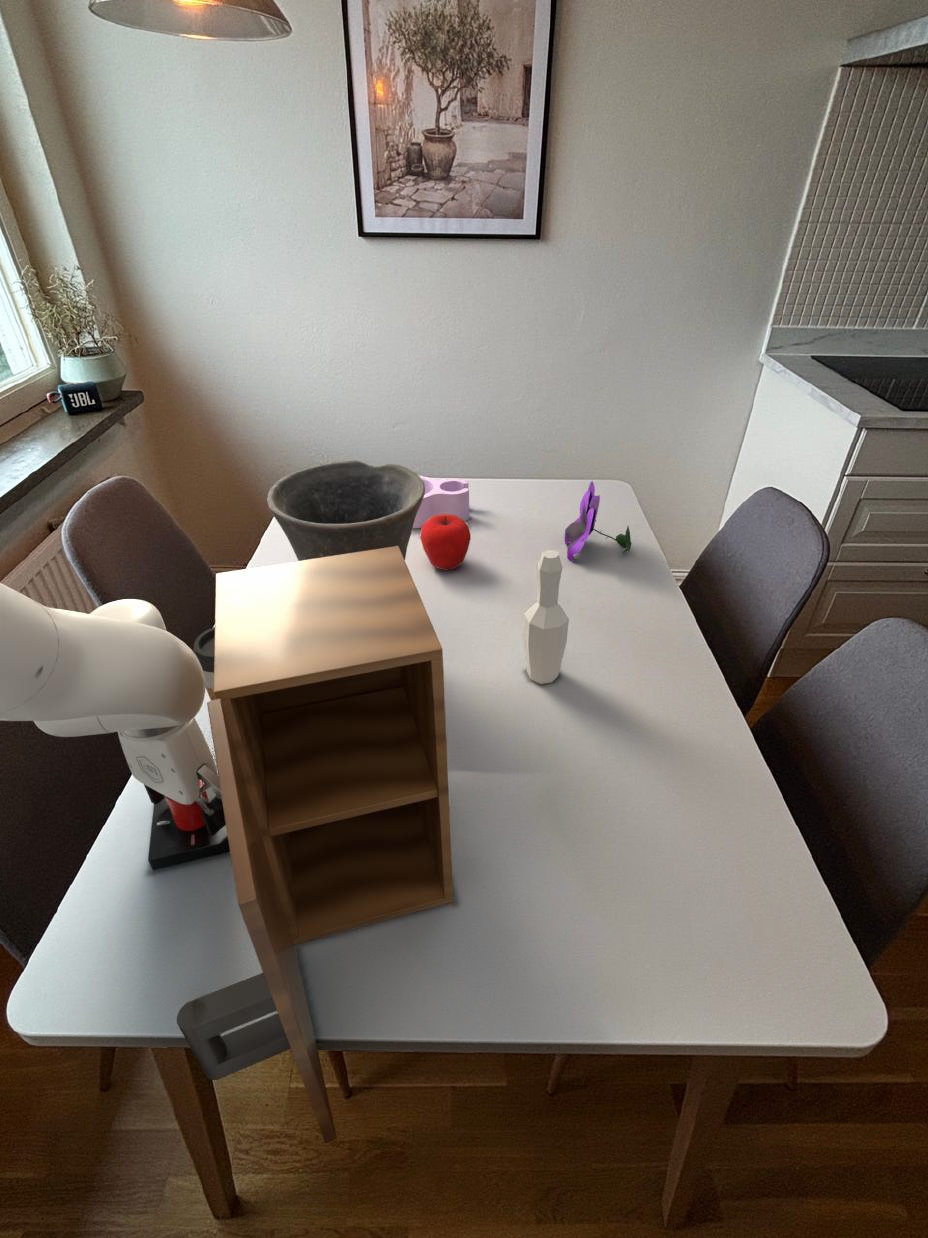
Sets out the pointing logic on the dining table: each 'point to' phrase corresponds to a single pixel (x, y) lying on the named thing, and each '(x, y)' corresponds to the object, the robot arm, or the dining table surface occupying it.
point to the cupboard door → (273, 949)
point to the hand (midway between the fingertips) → (191, 810)
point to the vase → (346, 508)
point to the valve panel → (181, 840)
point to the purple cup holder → (443, 499)
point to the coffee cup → (206, 658)
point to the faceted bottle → (546, 623)
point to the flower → (589, 525)
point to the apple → (445, 540)
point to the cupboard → (339, 735)
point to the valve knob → (187, 813)
